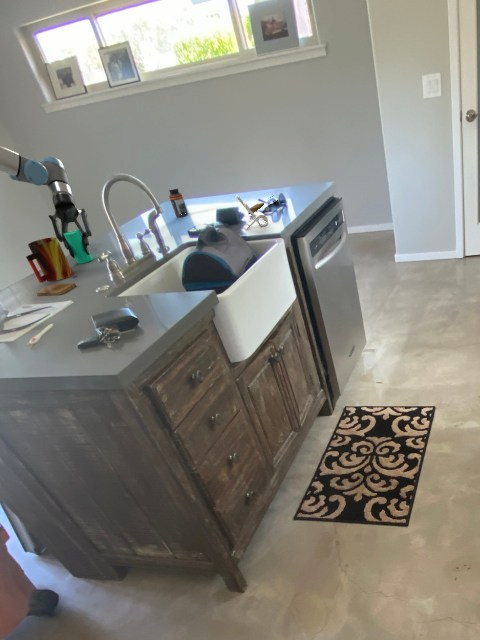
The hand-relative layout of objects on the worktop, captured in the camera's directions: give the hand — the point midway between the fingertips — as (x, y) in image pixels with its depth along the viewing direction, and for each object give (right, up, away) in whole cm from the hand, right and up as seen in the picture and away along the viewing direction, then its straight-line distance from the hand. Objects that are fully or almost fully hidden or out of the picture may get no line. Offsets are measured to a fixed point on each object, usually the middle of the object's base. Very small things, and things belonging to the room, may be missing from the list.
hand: (79, 254), depth 200 cm
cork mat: (+5, -24, -22) cm, 33 cm away
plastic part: (+65, +19, +15) cm, 69 cm away
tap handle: (+63, +40, +38) cm, 84 cm away
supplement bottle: (+21, +43, +49) cm, 69 cm away
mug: (-2, -14, -10) cm, 17 cm away
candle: (-1, 0, +5) cm, 5 cm away
